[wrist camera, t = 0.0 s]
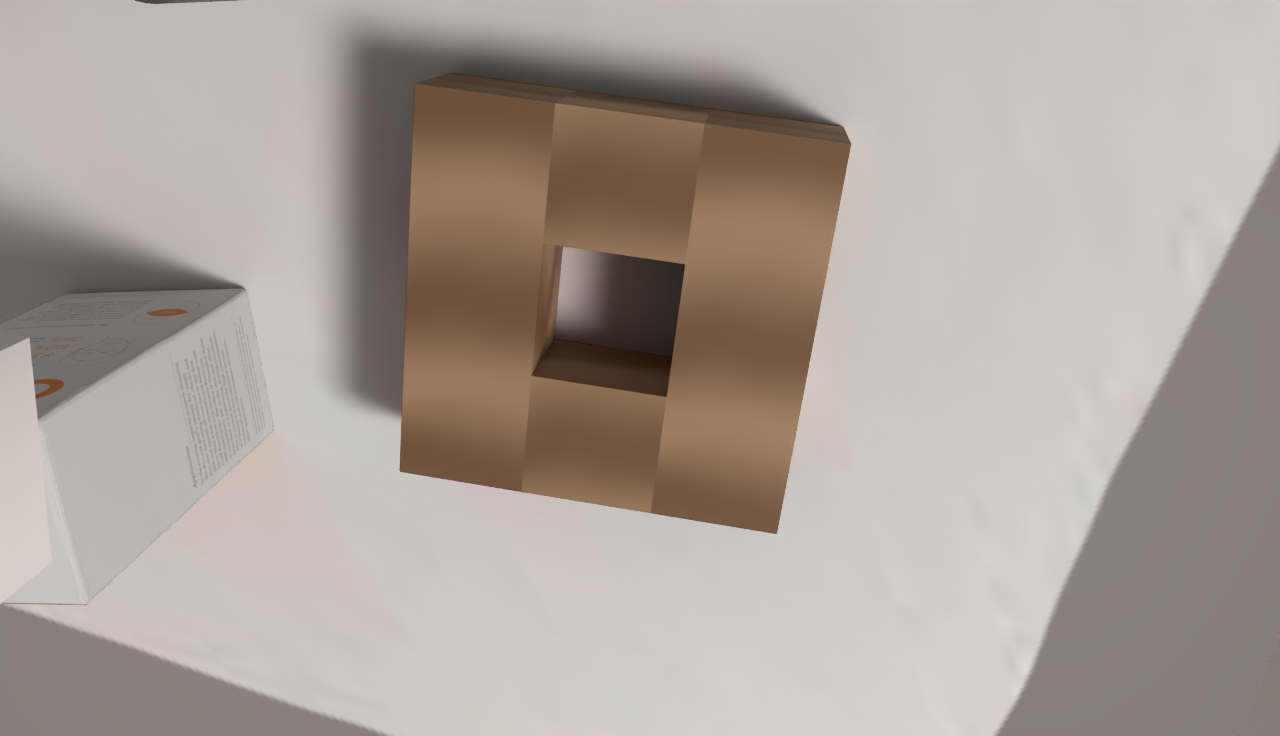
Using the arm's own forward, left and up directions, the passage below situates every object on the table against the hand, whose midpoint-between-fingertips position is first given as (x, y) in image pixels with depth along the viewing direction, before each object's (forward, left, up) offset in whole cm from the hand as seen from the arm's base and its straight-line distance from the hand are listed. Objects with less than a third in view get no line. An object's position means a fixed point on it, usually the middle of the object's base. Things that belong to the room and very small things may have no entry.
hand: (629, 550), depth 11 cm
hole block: (+6, -3, -28) cm, 29 cm away
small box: (+12, -21, -28) cm, 37 cm away
